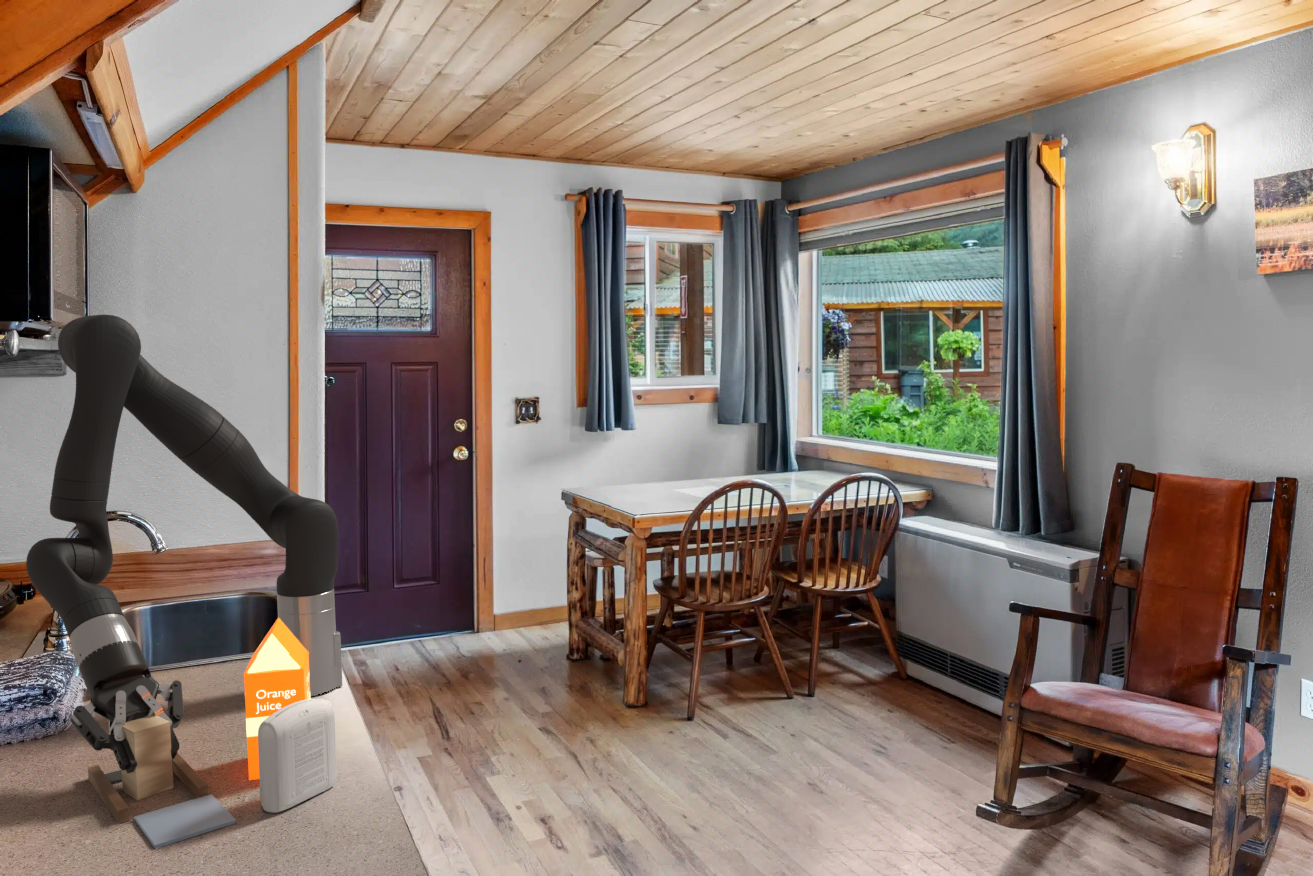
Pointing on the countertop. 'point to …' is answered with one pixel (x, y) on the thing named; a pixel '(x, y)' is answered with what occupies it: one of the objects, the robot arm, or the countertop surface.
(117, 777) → the mat
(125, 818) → the channel
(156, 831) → the mat
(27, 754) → the countertop surface
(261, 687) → the orange juice
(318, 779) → the photo printer
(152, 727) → the beech block
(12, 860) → the countertop surface
